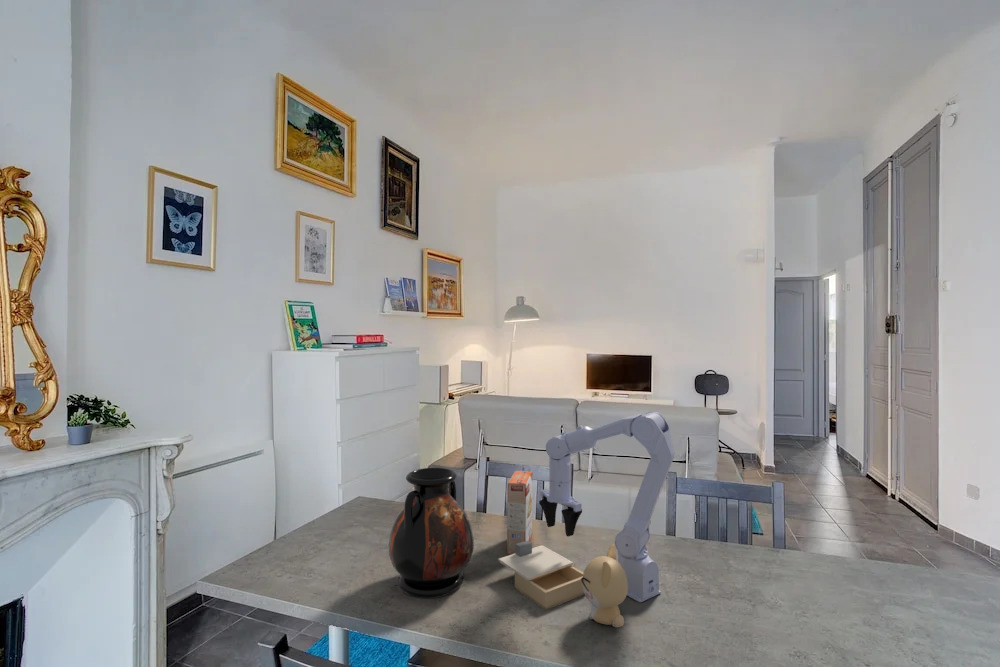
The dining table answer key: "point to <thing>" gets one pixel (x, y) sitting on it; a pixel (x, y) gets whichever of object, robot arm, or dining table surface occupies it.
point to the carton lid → (534, 561)
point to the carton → (552, 587)
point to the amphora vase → (431, 536)
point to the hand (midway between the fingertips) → (560, 530)
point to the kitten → (605, 588)
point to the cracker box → (519, 510)
